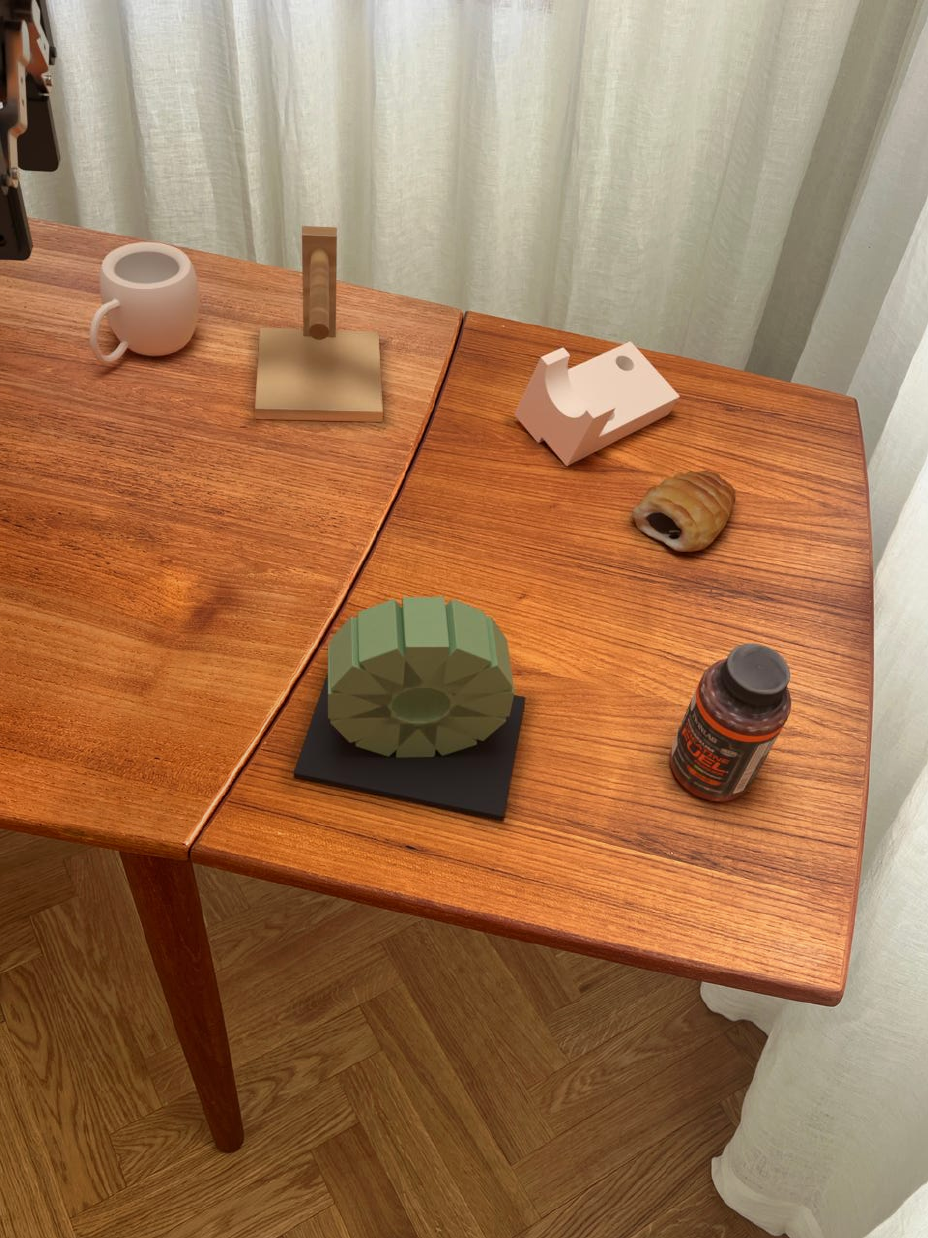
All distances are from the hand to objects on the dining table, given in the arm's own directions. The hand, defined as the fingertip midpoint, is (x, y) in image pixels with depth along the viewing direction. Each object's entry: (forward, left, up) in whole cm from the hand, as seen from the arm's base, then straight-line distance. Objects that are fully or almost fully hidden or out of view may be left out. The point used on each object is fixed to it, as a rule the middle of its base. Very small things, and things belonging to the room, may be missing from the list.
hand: (25, 210), depth 56 cm
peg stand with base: (+30, +14, -32) cm, 46 cm away
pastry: (+42, -19, -32) cm, 56 cm away
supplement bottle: (+24, -36, -32) cm, 54 cm away
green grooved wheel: (+10, -21, -26) cm, 35 cm away
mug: (+20, +27, -32) cm, 47 cm away
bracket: (+46, -6, -32) cm, 57 cm away
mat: (+10, -21, -32) cm, 40 cm away
